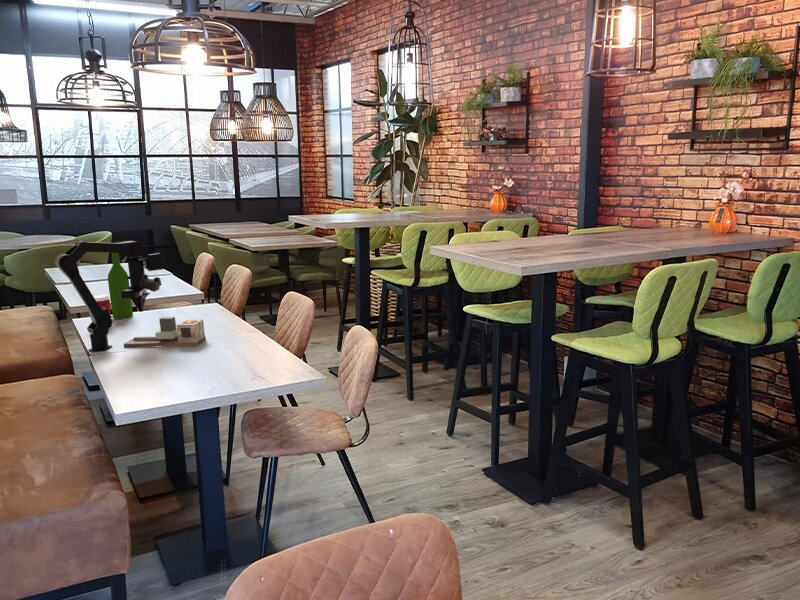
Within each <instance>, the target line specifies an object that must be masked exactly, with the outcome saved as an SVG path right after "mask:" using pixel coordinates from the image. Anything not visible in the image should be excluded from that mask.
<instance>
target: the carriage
mask: <svg viewBox="0 0 800 600" xmlns="http://www.w3.org/2000/svg"><path fill="white" fill-rule="evenodd" d="M176 322H177V321H176V317H175V316H162V317H160V318H159V328H160V330H158V331H156V332H155V337H156V339H174V338H175V337H177V336H178V335H177V326H176V325H177V324H176Z"/></svg>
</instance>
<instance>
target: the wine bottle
mask: <svg viewBox="0 0 800 600" xmlns="http://www.w3.org/2000/svg"><path fill="white" fill-rule="evenodd" d="M111 260H112V264H111V265H112V266H111V267H110V270H109V272H108V274H107V285H108V291H109V297H110V309H111V313H112V315H111V316H112V317H113V318H115V319H114V320H125V319H124V318H127V319H130V318H129V317H131V316H133V317H134V312H133V301H132V300H131V299H130V298H120V293H121V292H122V291H123V290H126V289H129V287H130V286H131V285H130V279H127V277H128V276H129V274H128V272H127V271H126V269H125V268H124V267H123V266H122V264H121V261H120V253H111ZM113 318H112V319H113ZM131 318H132V317H131Z"/></svg>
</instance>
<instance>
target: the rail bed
mask: <svg viewBox="0 0 800 600" xmlns="http://www.w3.org/2000/svg"><path fill="white" fill-rule="evenodd" d="M186 321H195V323H193V324H185V322H186ZM204 324H205V323H204V319H201V318H200V319H199V318H198V319H197V318H196V319H195V318H194V319H185V320H183V321H181V322H179V323H177V324H176V328H177V335H178V336H177V337H175V338H174V339H156V336H134V337H133V338H132V339H130V340H128V341H126V342H124V343H123V348H156V347H155V346H162V347H161V348H188V347H189V348H190V347H191V348H192V347H197V346H199V345H200V344H202V343H203V342H205V341H206V338H207V337H206V334H205V325H204ZM152 346H153V347H152ZM164 346H166V347H164Z"/></svg>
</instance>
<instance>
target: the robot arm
mask: <svg viewBox="0 0 800 600" xmlns="http://www.w3.org/2000/svg"><path fill="white" fill-rule="evenodd" d="M86 253H110V254H112V253H119V254H122V255H127V256H124V258H123V259H122V260H121V263H124V264H127V266H128V267H127V268H128V273H129V274H128V277H127V279H129V286H130V287H129V289H126V290H123V291H122V292H121V293H120V298H130V299H131V302H132V303H133V304H134V305H135V306H136V309H137V310H138V311H139V312H140V313H142V312H143V311H144V309H145V302H146V299H147V297H148V296H149V295H150V294H151V292H154V293H155V292H157V291H159V290H160V288H161V286H162V285H163V284H162V281H161V277H159V276H155V277H154V278H149V274H146V272H145V270H147V271H148V272H153V271H156V272H157V271H162V270H164V269H165V261H164V259H163V257H162V253H161V252H155V253H151V254H150V253H147V251H146V250H145V249H144V245H143V244H142V243H141V242H138V241H135V240H127V241H126V240H125V241H121V242H120V241H119V242H101V241H98V242H97V241H85V240H79V241H78V242H76V244H75V245H73V246H72V247H70V248H69V249H68V250H66V251H65V252H64V253H61V254H58V255H57V256H56V257H55V259H54V264H55V266H56V267H57V268H58V269H59V270H60V272H61V273H63V275H64V276H65V277H66V278H68V281H70V283H71V284H72V286H73V288H74V289H75V291H76V293H77V294H78V295H79V297H80V299H81V301H82V302H83V304H84V305H85V307H86V308H87V311H88V313H89V318H90V320H91V322H90V324H89V325H88V326H87V328H86V330H87V332H88V333H89V334H90V335H89V339H90V343H91V344H90V345H91V347H90V348H89V349H87V351H88V352H103V351H104V352H105V351H107V350H108V349H110V348H112V347H113V345H110V344H109V339H108V334H109V330H110V329H111V328H112V326H113V315H110V314H109V312H108V309H106V308H104V307H102V308H101V307H100V306H99V305H98V303H97V302H96V300H95V298H94V295H93V294H92V292H91V290H90V289H89V287H88V286H87V284H86V283H85V281H84V280H83V277H82V276H81V274H80V270H79V266H78V264H77V263H78V262H79V260H81V259H82V257H84V255H85V254H86ZM130 256H132V257H130ZM147 290H149V291H150V292H148V291H147ZM110 327H111V328H110Z"/></svg>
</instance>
